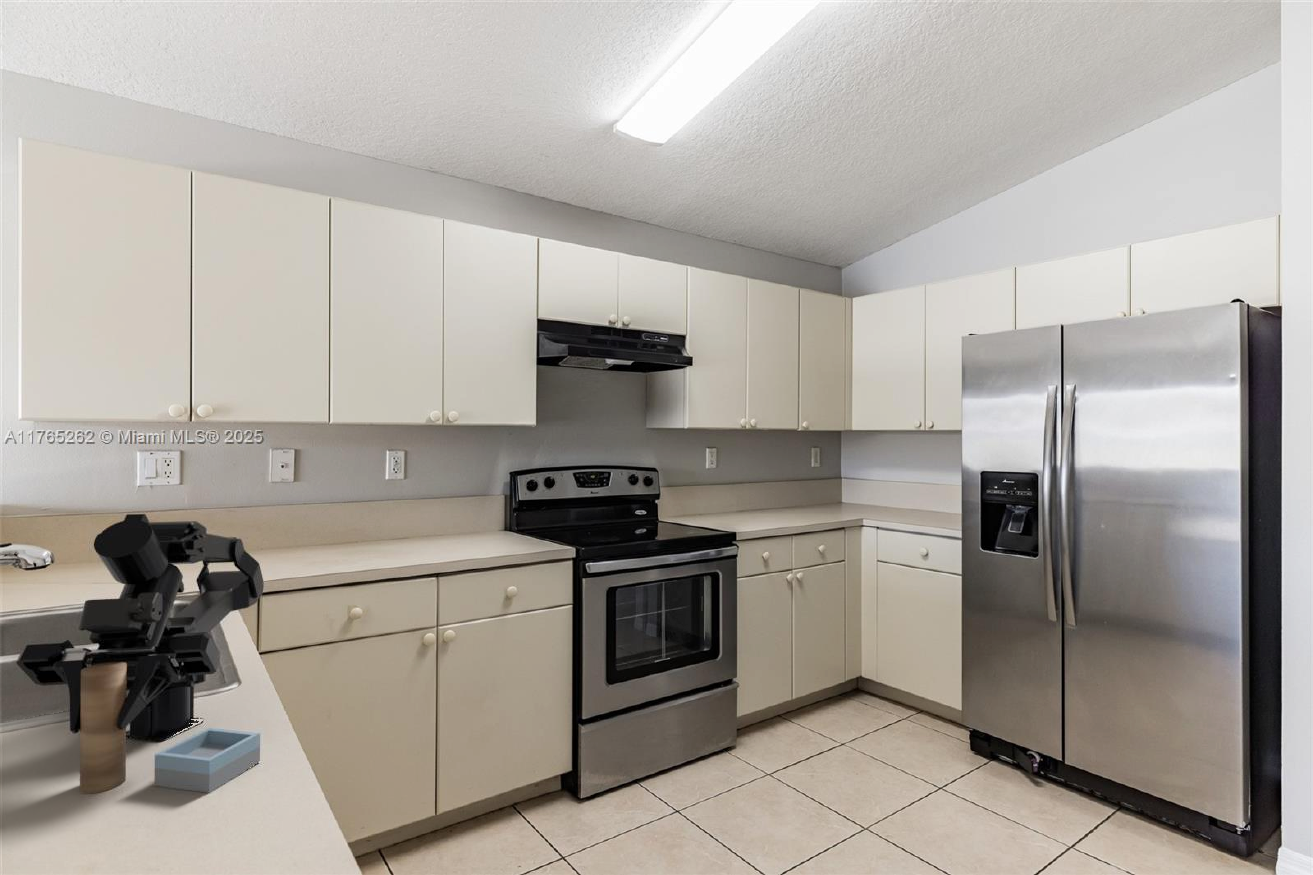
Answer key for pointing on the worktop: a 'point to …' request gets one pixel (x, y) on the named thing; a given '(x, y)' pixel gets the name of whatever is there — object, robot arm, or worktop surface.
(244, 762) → the light blue open box
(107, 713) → the pillar
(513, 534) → the worktop surface
